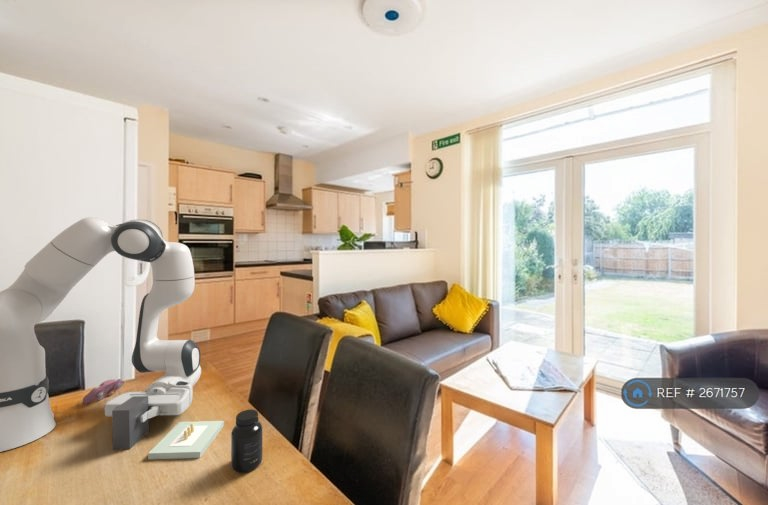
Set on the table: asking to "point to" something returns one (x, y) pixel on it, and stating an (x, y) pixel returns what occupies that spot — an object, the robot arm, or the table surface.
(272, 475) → the table surface
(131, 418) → the block
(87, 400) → the video game controller
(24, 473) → the table surface
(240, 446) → the supplement bottle
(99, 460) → the table surface
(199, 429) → the pin board
